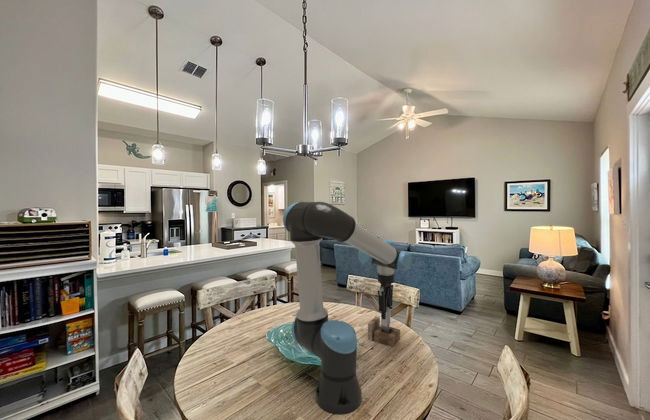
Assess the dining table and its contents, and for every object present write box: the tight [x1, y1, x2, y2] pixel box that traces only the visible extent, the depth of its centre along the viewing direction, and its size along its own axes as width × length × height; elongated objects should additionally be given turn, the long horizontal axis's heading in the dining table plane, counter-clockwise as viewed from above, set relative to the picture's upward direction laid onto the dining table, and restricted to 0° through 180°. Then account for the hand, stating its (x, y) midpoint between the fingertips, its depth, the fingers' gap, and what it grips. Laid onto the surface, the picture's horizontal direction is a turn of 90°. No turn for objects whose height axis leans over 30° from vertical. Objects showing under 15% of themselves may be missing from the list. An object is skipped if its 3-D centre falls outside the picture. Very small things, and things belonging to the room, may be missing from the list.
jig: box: [367, 316, 381, 342], centre depth 127 cm, size 9×16×9 cm, turn 56°
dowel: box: [383, 307, 390, 333], centre depth 128 cm, size 3×3×12 cm
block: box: [373, 324, 401, 348], centre depth 127 cm, size 9×9×4 cm
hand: (385, 324), depth 128 cm, fingers closed on dowel, 3 cm apart
